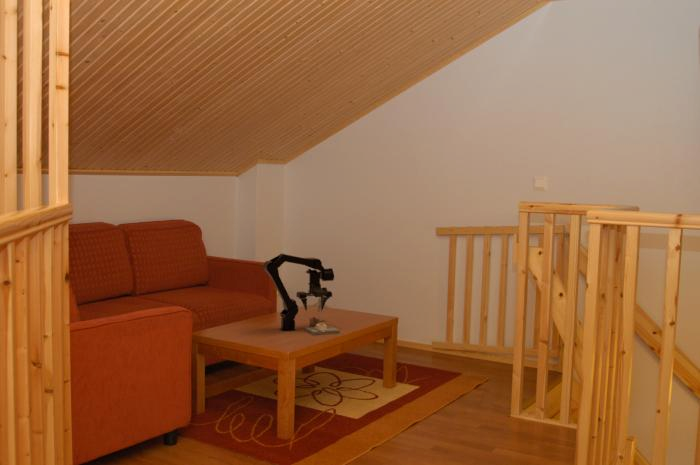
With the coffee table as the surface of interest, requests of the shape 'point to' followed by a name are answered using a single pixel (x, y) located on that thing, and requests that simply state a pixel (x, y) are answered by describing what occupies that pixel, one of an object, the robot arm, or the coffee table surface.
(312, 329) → the board
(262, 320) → the coffee table surface
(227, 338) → the coffee table surface
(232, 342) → the coffee table surface
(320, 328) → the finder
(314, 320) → the wooden knobbed box
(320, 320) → the figurine
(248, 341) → the coffee table surface
